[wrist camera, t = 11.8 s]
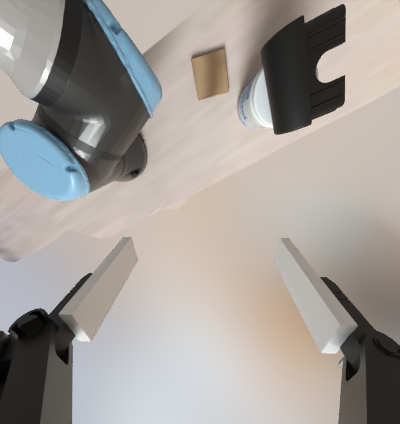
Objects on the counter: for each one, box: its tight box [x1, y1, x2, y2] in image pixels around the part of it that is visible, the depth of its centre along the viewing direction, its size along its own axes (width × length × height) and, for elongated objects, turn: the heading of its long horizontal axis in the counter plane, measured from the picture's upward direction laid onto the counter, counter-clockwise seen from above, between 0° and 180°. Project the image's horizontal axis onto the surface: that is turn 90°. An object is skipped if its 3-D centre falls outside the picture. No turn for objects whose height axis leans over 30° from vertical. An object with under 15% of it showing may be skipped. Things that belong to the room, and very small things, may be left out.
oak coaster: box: [191, 49, 229, 100], centre depth 33 cm, size 7×7×1 cm
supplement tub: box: [237, 66, 318, 130], centre depth 29 cm, size 10×10×15 cm
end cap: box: [261, 4, 346, 135], centre depth 19 cm, size 10×7×7 cm
